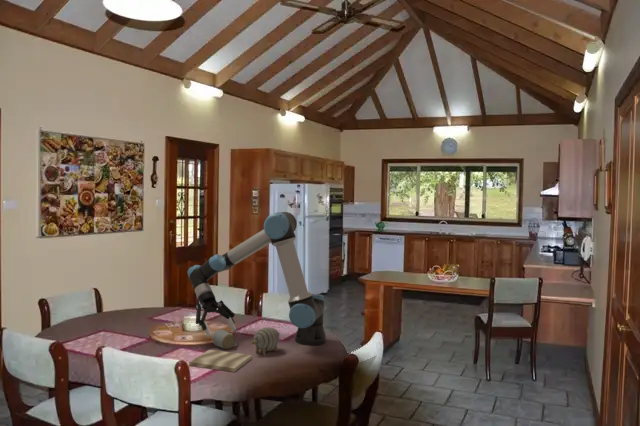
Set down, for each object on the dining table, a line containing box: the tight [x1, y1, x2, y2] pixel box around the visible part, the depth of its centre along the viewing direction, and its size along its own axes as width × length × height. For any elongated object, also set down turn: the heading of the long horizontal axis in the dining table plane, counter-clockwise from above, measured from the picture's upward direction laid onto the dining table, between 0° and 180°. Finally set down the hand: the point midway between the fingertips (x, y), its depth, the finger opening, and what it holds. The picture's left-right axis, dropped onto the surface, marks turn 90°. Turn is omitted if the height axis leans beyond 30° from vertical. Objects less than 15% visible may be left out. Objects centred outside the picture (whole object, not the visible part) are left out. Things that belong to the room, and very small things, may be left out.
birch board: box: [188, 349, 253, 373], centre depth 226 cm, size 20×18×2 cm
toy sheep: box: [250, 326, 281, 356], centre depth 242 cm, size 11×17×11 cm, turn 147°
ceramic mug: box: [212, 328, 238, 350], centre depth 247 cm, size 11×8×8 cm
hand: (222, 333), depth 246 cm, fingers open, 13 cm apart
